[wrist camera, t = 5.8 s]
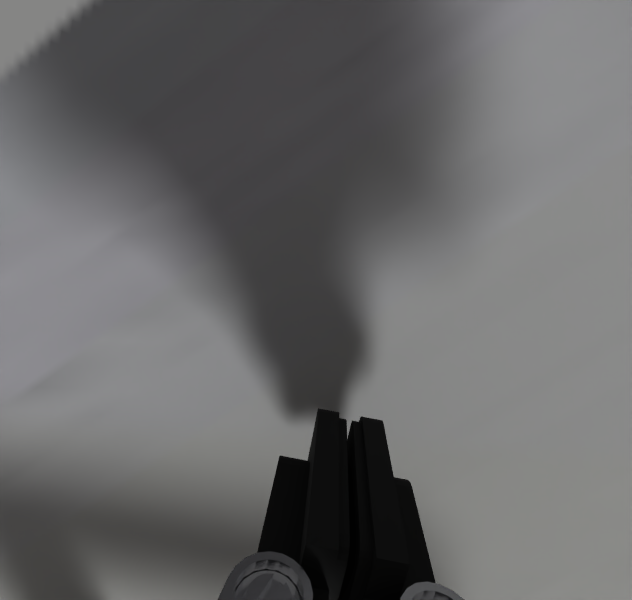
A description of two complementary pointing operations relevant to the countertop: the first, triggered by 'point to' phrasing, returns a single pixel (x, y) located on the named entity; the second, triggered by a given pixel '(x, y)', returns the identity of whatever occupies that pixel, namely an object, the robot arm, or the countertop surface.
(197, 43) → the countertop surface
